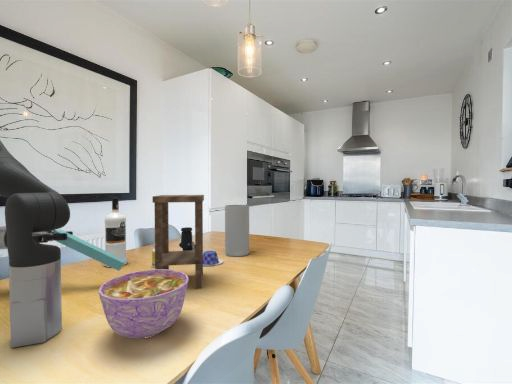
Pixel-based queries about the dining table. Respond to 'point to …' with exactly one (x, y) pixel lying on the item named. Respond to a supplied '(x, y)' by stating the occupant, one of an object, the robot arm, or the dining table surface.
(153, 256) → the supplement bottle
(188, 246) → the scope
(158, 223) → the stand
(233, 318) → the dining table surface
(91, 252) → the teal bar
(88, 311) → the dining table surface
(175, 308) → the bowl of food
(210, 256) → the blue teacup with saucer
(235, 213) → the cylinder vase
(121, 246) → the vodka
